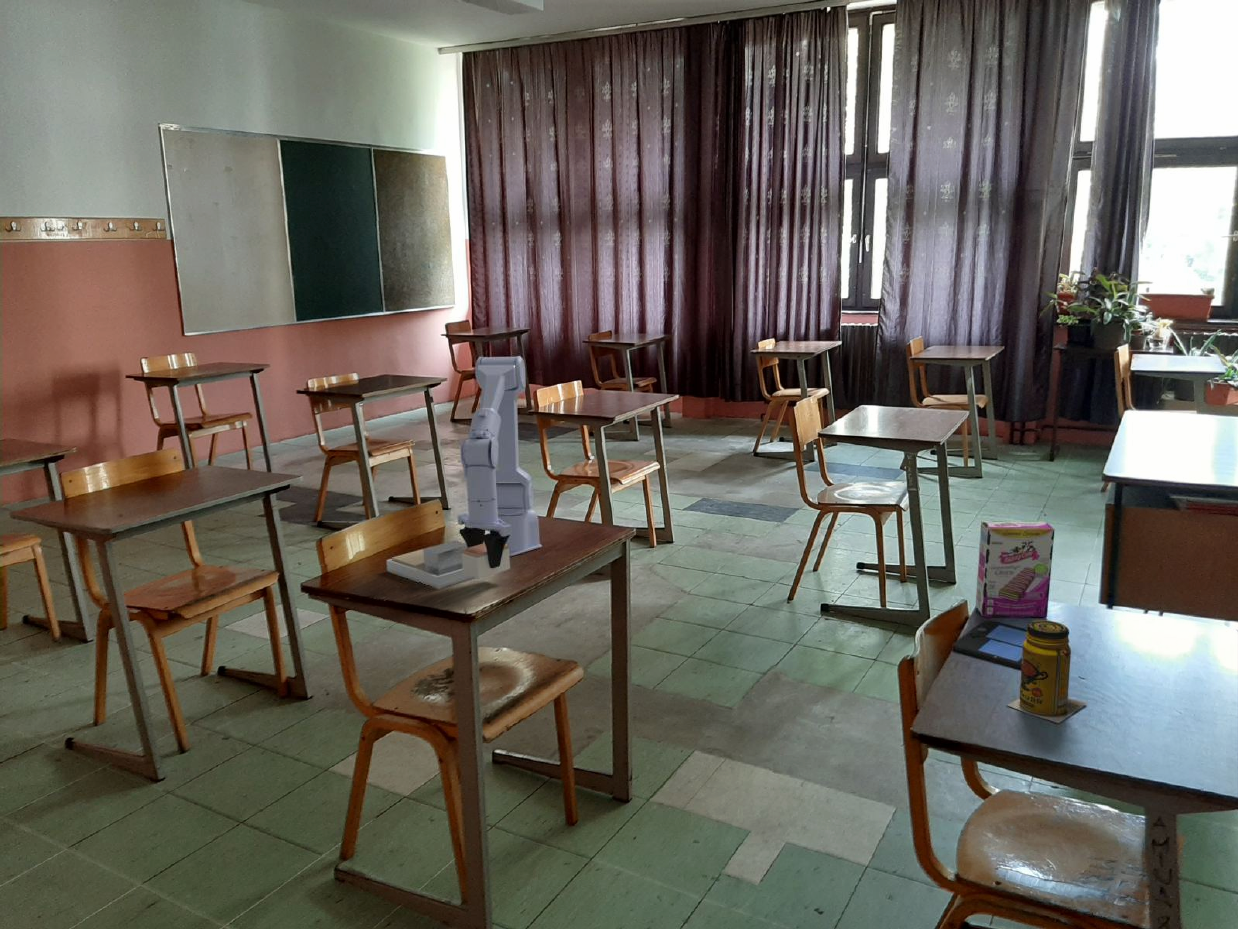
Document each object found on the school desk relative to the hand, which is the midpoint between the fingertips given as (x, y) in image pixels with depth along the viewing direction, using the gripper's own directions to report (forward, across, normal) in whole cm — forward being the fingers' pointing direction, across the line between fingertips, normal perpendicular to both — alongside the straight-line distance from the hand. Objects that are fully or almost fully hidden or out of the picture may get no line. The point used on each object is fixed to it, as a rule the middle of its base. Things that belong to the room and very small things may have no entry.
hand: (486, 564), depth 185 cm
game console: (+5, +92, +33) cm, 97 cm away
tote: (+4, -14, -2) cm, 15 cm away
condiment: (+4, +102, +17) cm, 104 cm away
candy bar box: (+4, +86, +49) cm, 99 cm away
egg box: (+2, 0, 0) cm, 2 cm away
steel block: (+4, -10, -2) cm, 11 cm away
